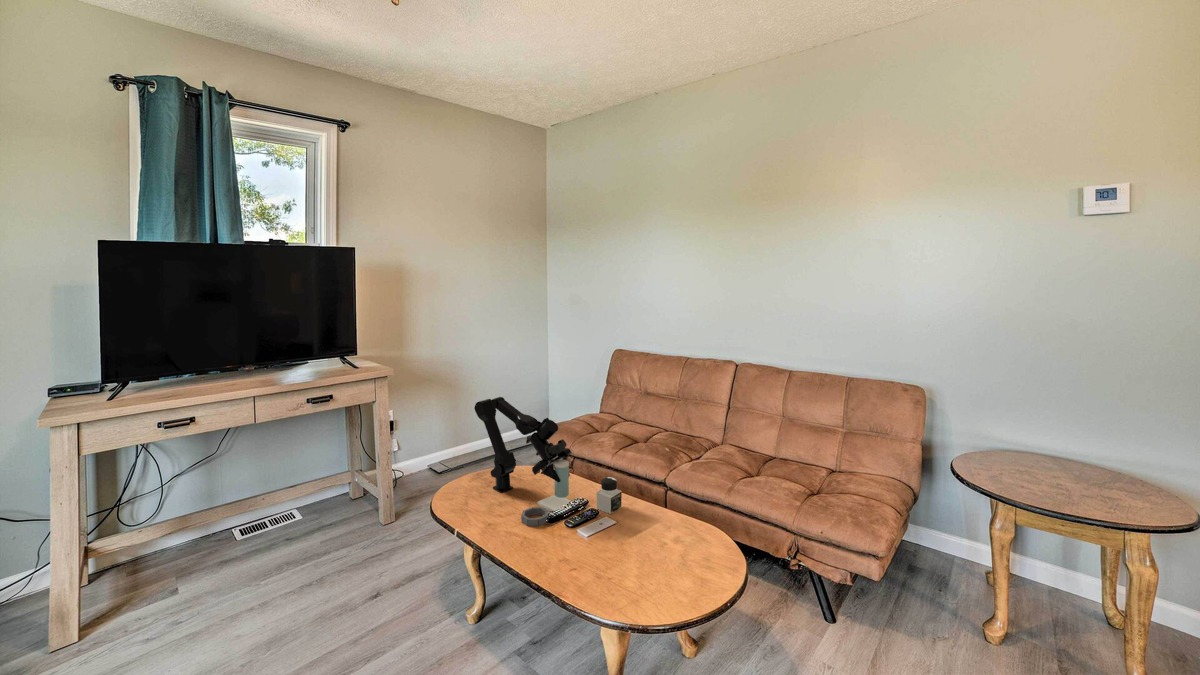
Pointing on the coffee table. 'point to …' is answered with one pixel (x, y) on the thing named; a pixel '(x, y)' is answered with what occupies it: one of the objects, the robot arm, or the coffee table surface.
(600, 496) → the medicine bottle
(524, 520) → the holder ring
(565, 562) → the coffee table surface
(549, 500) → the tray
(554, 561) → the coffee table surface
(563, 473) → the jar
